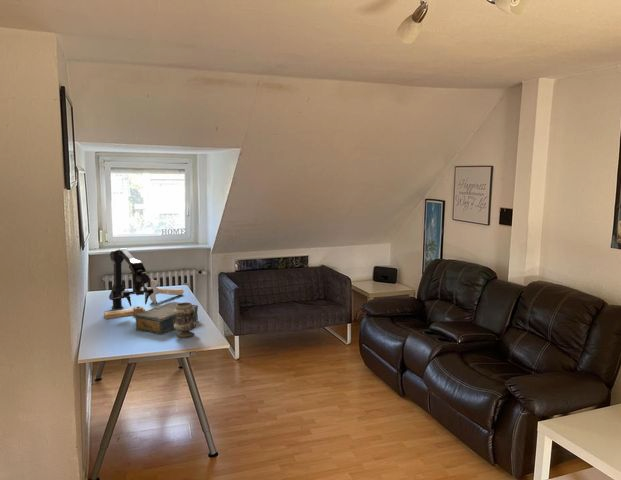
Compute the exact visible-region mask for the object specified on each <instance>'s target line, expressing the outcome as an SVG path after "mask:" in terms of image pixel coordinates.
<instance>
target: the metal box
mask: <svg viewBox="0 0 621 480" xmlns="http://www.w3.org/2000/svg"><path fill="white" fill-rule="evenodd" d="M178 303H180V302H177V301H172V302H168V303H165V304H162V305H159V306H156V307H153V308H151V309H148V310H145V311H144V312H140V313H138V314H136V316H134V317H135V330H136V331H140V332H145V333H152V334H155V335H165V334H168V333H169V332H172V331H174V330H176V329H175V328H174V324H175V323H176V315H175V314H174V313H173V311H174V309H175V308H176V304H178ZM192 307H194V308H195V312H194V313H193V320H194V322H196V320H197V321H198V320H199V317H198V315H199V314H198V309H199V308H198V307H199V305H196V304H192Z"/></svg>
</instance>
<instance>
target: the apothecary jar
mask: <svg viewBox="0 0 621 480" xmlns="http://www.w3.org/2000/svg"><path fill="white" fill-rule="evenodd" d="M192 305H193V304H192V302H189V301H185V302H179V303H178V304H176V308H175V309H174V311H173V313H174V314H175V315H176V323H175V324H174V328H175V329H174V330H176V331H178V333H177V334H176V337H177V338H179V339H189V338H191V337H194V336H195V333H194V332H193V331H192V330H194V329H195V328H196V327H197V322H196V321H194V320H193V313H194V312H195V308H194V307H192Z"/></svg>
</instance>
